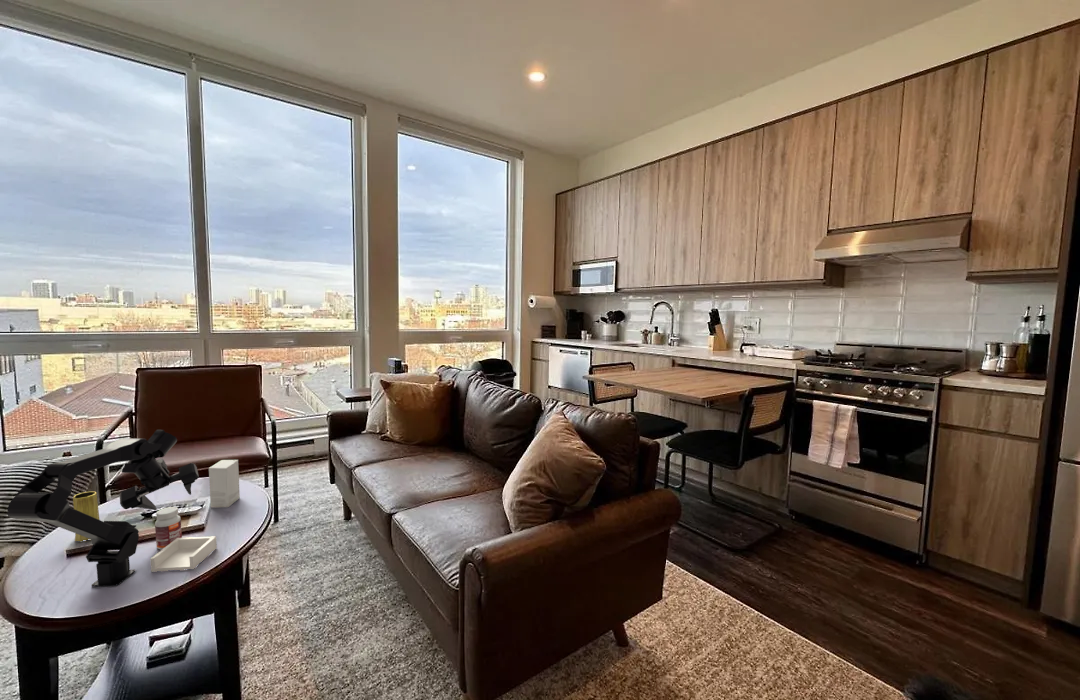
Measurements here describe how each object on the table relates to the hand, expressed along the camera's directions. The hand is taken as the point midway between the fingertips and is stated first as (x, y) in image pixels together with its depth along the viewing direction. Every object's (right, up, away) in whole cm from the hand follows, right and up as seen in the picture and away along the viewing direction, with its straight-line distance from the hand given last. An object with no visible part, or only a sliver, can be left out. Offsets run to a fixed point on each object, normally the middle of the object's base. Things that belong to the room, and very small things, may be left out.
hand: (173, 501), depth 140 cm
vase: (-28, -12, +1) cm, 30 cm away
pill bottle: (+1, -13, -2) cm, 13 cm away
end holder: (+12, -14, -10) cm, 21 cm away
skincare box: (-2, -10, +26) cm, 28 cm away
